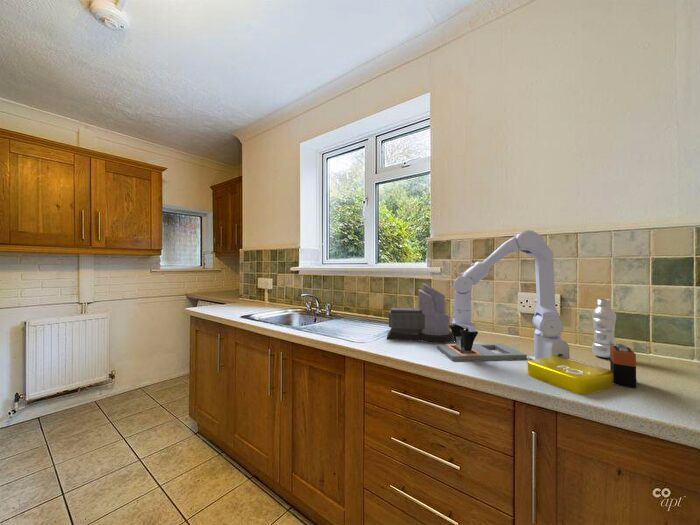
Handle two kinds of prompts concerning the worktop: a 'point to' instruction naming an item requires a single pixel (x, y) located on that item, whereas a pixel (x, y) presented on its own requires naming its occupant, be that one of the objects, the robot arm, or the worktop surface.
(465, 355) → the rail plate
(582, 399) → the worktop surface
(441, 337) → the juicer
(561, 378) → the element tile
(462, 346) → the block
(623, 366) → the battery
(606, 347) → the plastic bottle
